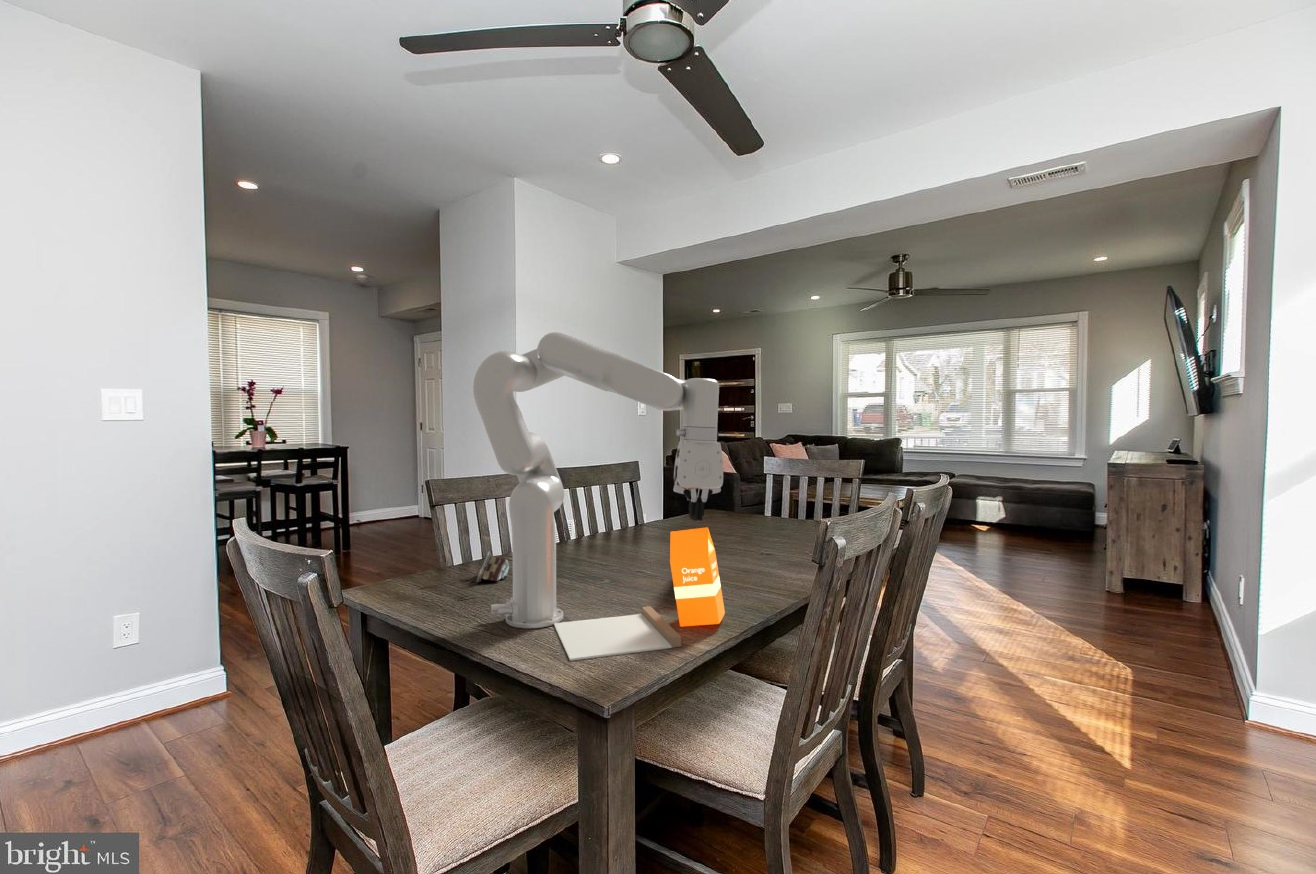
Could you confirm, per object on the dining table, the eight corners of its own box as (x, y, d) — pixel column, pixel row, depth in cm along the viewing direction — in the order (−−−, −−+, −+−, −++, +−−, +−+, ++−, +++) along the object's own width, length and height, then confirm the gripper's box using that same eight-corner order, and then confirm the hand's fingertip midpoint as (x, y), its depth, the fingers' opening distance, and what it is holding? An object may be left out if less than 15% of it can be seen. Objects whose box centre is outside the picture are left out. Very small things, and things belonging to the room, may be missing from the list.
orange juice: (719, 624, 126) (704, 530, 127) (679, 626, 129) (665, 535, 129) (725, 612, 134) (711, 524, 134) (687, 615, 136) (673, 528, 137)
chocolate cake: (502, 584, 159) (515, 548, 168) (476, 578, 158) (490, 542, 167) (499, 602, 165) (511, 566, 174) (473, 596, 165) (487, 560, 173)
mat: (570, 660, 111) (570, 650, 111) (553, 625, 130) (553, 616, 130) (681, 646, 118) (681, 636, 118) (650, 614, 137) (650, 606, 137)
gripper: (673, 435, 124) (669, 523, 124) (738, 437, 128) (734, 522, 129) (661, 433, 131) (658, 517, 131) (723, 435, 135) (720, 516, 136)
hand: (696, 519), depth 130 cm, fingers closed
